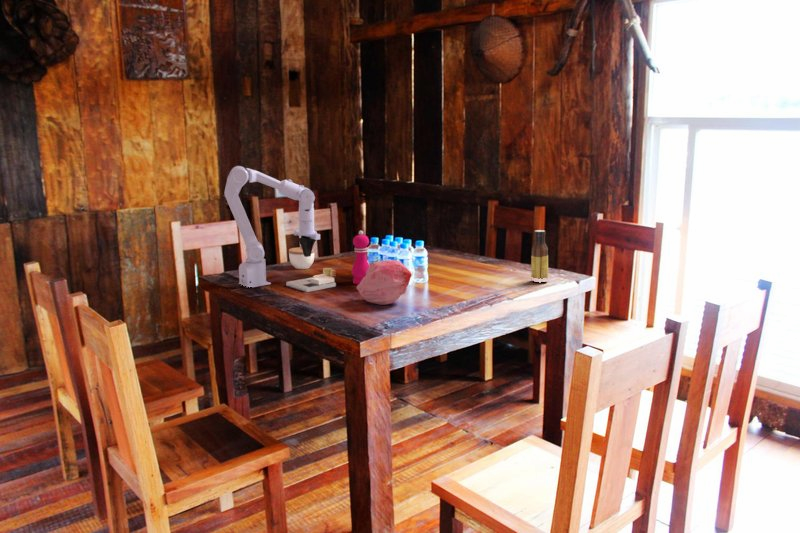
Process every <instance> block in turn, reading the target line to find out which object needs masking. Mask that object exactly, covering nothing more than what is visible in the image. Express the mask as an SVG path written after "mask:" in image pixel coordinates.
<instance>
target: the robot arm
mask: <svg viewBox="0 0 800 533" xmlns="http://www.w3.org/2000/svg"><path fill="white" fill-rule="evenodd" d="M247 182H248V183H257V182H258V183H260V184H263V185H265V186H269V187H270V188H273V189H277V191H278V193H279V194H280V195H281V196H283V197H286V198H289V199H292V200H294V201H298V229H295V230H293V236H299V237H298V238H297V241H298V243H299V244H300V246H301V247H302V250H303V254H304V256H305V257H309V256H311V252H312V248H313V249H314V245H315V243H316V241H317V240H321V234H320V233H318V232H317V231H315V207H314V206H315V204H314V201H315V199H316V196H315V194H314V192H313V191H312V190H311V189H310V188H308V187H305V185H303V184H301V185H299V184H297V183H294V182H293V180H292V179H290V178H289V179H288V180H287V179H283V180H281V181H280V180H278V179H277V178H274V177H272V176H270V175H267V174H265V173H263V172H261V171H258V170H256V169H252V168H248V167H246V168H245V167H244V166H241V165H235V166H234V167H232V168H231V170H230V171H229V174H228V175H227V178H226V183H225V188H224V192H223V193H224V197H225V200H226V201H227V204H228V206H229V208H230V211H231V213H232V215H233V216H232V217H233V218H234V220H235V223H236V226H237V228H238V230H239V233H240V234H241V236H242V239H243V242H244V245H245V248H246V249H245V250H246V256H247V257H246V258H245V261H244V262H242V263H240V264H239V265H238V278H239V282H238V285H239V284H241V285H240V286H242V285H243V287H245V286H246V287H245V288H248V287H249V288H250V287H252V288H257V287H262V286H266V285H267V286H268V285H271V284H272V283H271V282H269V281H267V266H266V265H267V264H266V259H265V258H264V257H265V254H266V253H265V250H264V247H263V244H262V243H261V242H259V241H258V238H257V236H256V235H255V232H254V229H253V227H252V225H251V223H250V220H249V218H248V216H247V213H246V210H245V208H244V206H243V204H242V201H241V199H240V196H239V194H240V192H241V189H242V187H244V186H245V185H246V183H247Z"/></svg>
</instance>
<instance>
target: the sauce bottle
mask: <svg viewBox="0 0 800 533" xmlns="http://www.w3.org/2000/svg"><path fill="white" fill-rule="evenodd" d="M533 234H534V243H533V244H532V247H531V256H530V257H531V264H530V265H531V266H530V267H531V268H530V270H531V272H530V274H531V275H530V276H531V277H533V278H538V279H540V278H541V279H543V278H547V279H548V278H549V252H548V251H549V247H548V245H547V243H546V230H543V229H537V230H534V233H533Z"/></svg>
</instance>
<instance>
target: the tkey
mask: <svg viewBox="0 0 800 533" xmlns="http://www.w3.org/2000/svg"><path fill="white" fill-rule="evenodd" d="M336 272H337V270H336V269H334V268H331V267H323V268H322V274H326V276H330V277H333V278H334V277H336V276H337V275H336V274H337V273H336Z"/></svg>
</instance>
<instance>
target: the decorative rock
mask: <svg viewBox="0 0 800 533" xmlns="http://www.w3.org/2000/svg"><path fill="white" fill-rule="evenodd" d="M369 266H370V267H369V269H368V270H367V271H366V276H365V277H363V279H362V281H361V282H360V284H357V285H356V290H357V292H358V293H359V295H360V296H361V297H362V299H363V300H365V301H366V302H368V303H371V304H376V305H378V306H379V305H383V306H385V305H391V304H394V303H395V302H397V301H398V300H399V298H401V296H402V295H404V294H405V293H406V292H407V287H408V286H409V284H410V282H411V278H412V272H411V271H410V269H408V268H407V267H406V266H405V264H403V262H401V261H400V260H396V259H387V260H379V261H374V262H371V264H369Z"/></svg>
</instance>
